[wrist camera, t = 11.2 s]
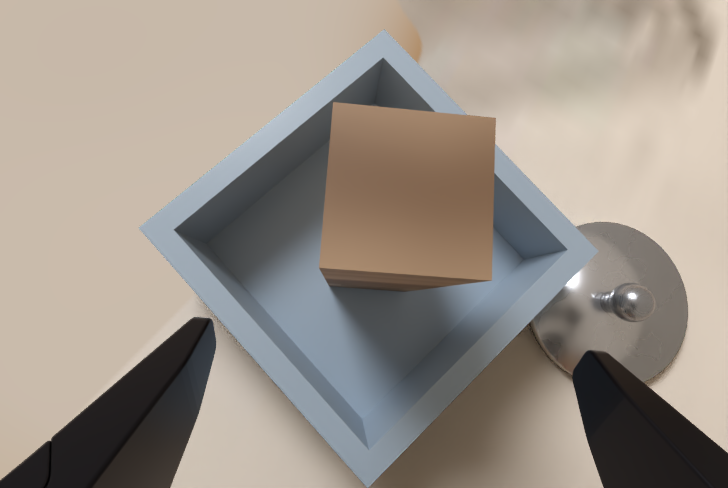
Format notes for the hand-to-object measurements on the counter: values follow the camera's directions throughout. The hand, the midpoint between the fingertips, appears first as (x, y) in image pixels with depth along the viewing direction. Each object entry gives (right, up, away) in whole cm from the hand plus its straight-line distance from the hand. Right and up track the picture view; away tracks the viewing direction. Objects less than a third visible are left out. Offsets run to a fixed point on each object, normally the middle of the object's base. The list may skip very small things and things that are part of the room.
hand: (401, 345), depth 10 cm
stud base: (+13, -1, +13) cm, 18 cm away
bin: (-1, +2, +12) cm, 13 cm away
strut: (-1, +2, +12) cm, 12 cm away
